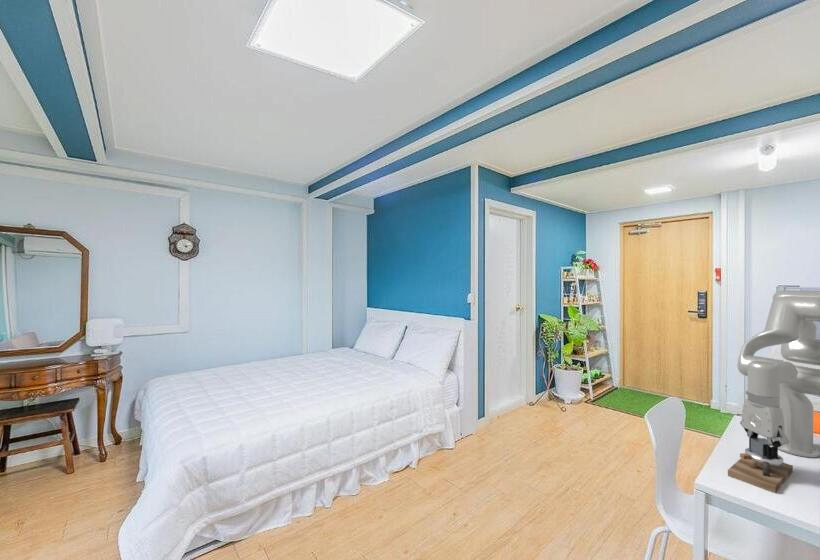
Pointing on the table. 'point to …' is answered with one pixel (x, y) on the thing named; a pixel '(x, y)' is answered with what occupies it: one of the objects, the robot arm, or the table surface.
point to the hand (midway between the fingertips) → (763, 453)
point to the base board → (760, 474)
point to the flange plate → (772, 461)
